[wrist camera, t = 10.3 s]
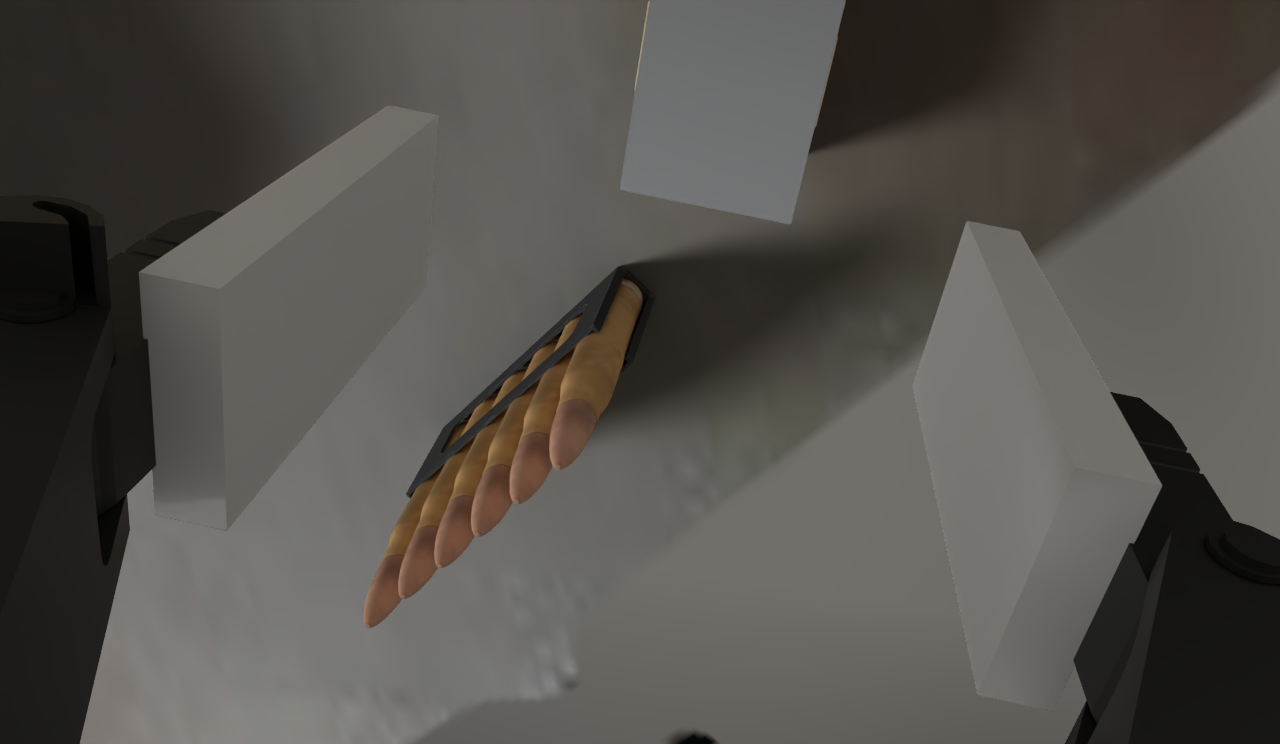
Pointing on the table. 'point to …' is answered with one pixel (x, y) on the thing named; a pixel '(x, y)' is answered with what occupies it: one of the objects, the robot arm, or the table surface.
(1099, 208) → the table surface
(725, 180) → the grey taped box
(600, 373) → the ammunition clip
